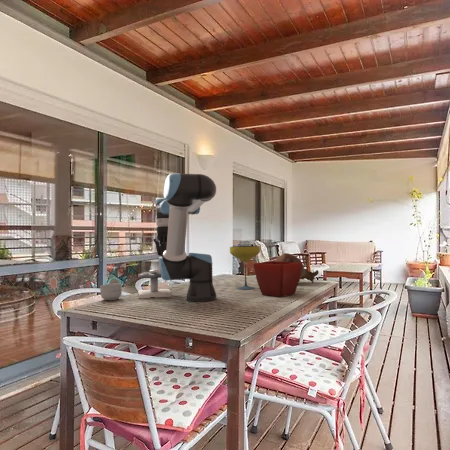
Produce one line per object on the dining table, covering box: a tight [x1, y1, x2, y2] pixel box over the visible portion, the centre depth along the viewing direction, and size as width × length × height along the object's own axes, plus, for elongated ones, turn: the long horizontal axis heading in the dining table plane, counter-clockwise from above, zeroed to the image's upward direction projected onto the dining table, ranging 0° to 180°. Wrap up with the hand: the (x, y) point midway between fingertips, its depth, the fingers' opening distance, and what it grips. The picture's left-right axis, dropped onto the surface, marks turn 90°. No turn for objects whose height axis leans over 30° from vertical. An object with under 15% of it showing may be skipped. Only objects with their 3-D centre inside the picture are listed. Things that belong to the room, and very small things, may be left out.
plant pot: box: [253, 260, 303, 298], centre depth 201 cm, size 19×19×17 cm
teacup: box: [99, 282, 123, 301], centre depth 200 cm, size 14×11×8 cm
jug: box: [274, 252, 320, 283], centre depth 245 cm, size 20×20×30 cm
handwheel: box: [137, 268, 162, 279], centre depth 211 cm, size 17×17×8 cm
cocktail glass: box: [229, 245, 261, 291], centre depth 228 cm, size 18×18×25 cm
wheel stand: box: [138, 278, 172, 299], centre depth 211 cm, size 17×17×10 cm
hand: (164, 267), depth 215 cm, fingers closed
